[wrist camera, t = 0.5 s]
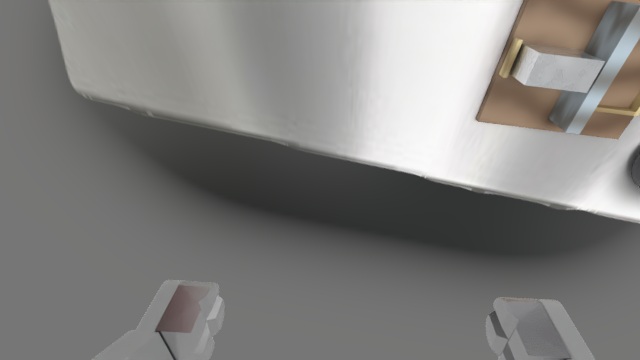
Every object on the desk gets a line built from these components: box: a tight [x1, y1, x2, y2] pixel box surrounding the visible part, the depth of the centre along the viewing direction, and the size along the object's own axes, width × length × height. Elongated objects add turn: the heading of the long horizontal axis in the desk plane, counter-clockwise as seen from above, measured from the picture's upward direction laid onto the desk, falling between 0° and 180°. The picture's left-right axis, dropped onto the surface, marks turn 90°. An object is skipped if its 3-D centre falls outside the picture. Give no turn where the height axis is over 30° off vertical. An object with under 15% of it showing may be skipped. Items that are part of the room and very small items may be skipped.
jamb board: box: [476, 0, 640, 139], centre depth 44 cm, size 20×22×6 cm
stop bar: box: [509, 42, 605, 93], centre depth 43 cm, size 4×8×6 cm, turn 84°
